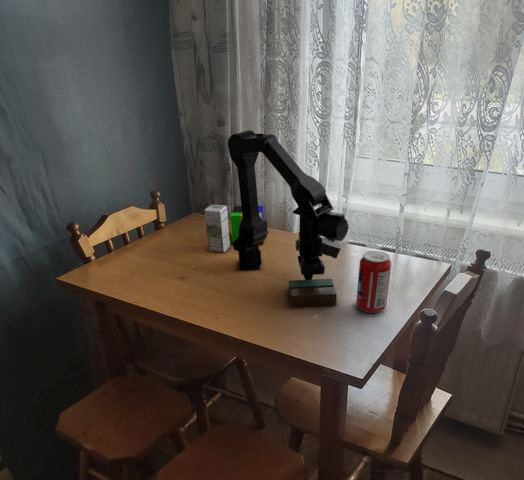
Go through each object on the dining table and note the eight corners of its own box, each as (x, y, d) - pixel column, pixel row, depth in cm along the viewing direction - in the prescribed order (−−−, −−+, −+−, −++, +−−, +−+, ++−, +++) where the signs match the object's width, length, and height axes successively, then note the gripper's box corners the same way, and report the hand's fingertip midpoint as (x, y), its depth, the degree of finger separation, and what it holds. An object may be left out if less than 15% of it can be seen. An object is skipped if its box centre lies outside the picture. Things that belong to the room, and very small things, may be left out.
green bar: (290, 298, 136) (290, 287, 135) (288, 291, 140) (288, 280, 138) (333, 296, 137) (333, 285, 135) (330, 289, 140) (331, 278, 138)
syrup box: (230, 246, 168) (227, 204, 160) (223, 253, 163) (220, 211, 155) (215, 244, 169) (211, 203, 161) (208, 251, 165) (203, 209, 157)
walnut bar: (291, 307, 132) (291, 296, 130) (290, 300, 136) (290, 288, 134) (335, 305, 132) (336, 293, 131) (333, 298, 136) (334, 286, 134)
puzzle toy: (264, 233, 177) (263, 206, 171) (261, 244, 168) (260, 216, 163) (236, 232, 178) (234, 205, 172) (232, 243, 169) (230, 215, 164)
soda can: (379, 318, 126) (385, 265, 118) (351, 310, 130) (355, 258, 122) (390, 304, 132) (396, 253, 124) (362, 297, 135) (367, 247, 127)
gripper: (345, 244, 125) (341, 297, 134) (334, 218, 141) (331, 267, 149) (301, 246, 125) (300, 299, 134) (295, 219, 140) (295, 268, 149)
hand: (308, 282), depth 141 cm, fingers closed
